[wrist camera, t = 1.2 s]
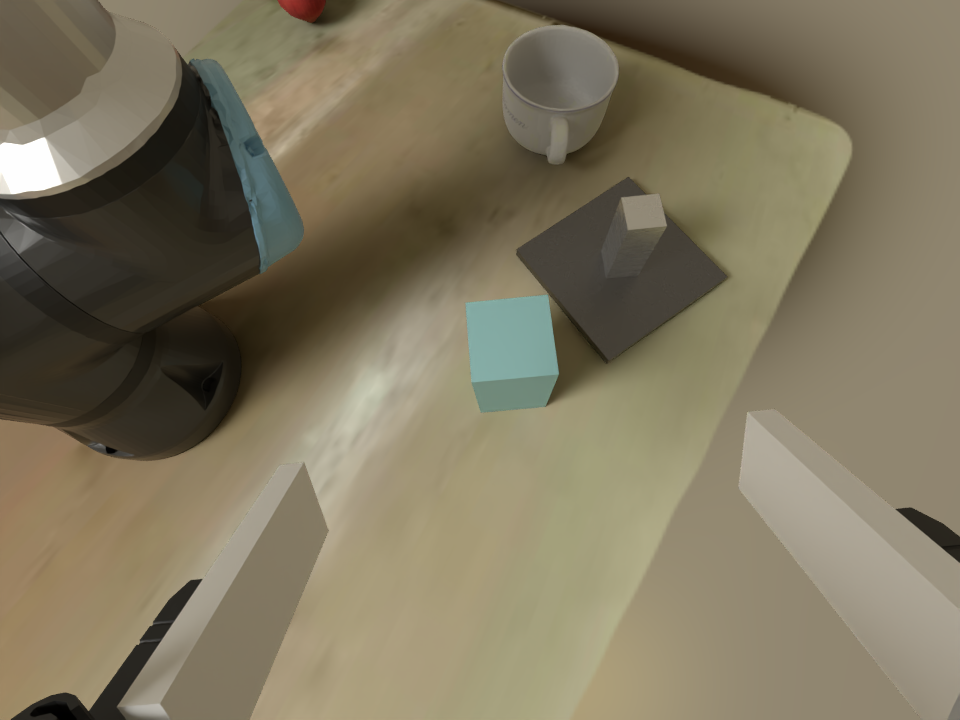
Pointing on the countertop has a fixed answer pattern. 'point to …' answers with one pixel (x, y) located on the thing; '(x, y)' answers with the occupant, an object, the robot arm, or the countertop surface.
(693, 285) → the gray square peg stand
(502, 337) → the teal upright box
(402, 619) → the countertop surface
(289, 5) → the onion
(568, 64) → the teacup
